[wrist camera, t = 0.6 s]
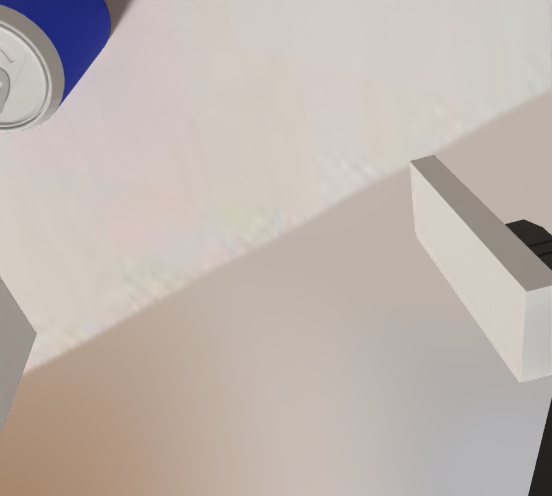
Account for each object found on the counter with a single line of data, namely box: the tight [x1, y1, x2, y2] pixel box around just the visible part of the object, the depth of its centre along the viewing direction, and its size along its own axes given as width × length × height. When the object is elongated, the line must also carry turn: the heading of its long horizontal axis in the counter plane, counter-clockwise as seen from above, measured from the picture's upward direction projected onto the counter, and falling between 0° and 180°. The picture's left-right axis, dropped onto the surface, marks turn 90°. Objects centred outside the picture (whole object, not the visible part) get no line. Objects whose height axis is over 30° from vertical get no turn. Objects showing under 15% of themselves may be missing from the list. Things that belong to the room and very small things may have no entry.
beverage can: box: [0, 0, 111, 132], centre depth 27 cm, size 5×5×15 cm
